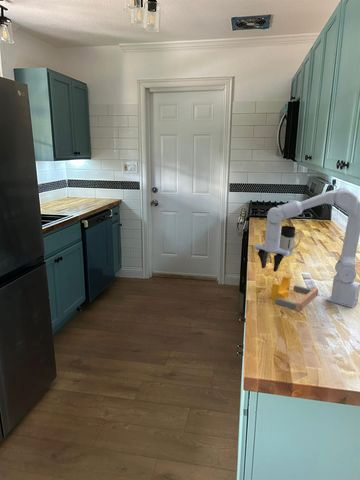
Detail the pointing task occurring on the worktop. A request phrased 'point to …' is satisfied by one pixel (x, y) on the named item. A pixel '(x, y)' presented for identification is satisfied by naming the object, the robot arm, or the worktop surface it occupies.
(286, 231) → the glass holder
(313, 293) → the stop frame
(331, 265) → the worktop surface
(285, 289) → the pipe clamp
